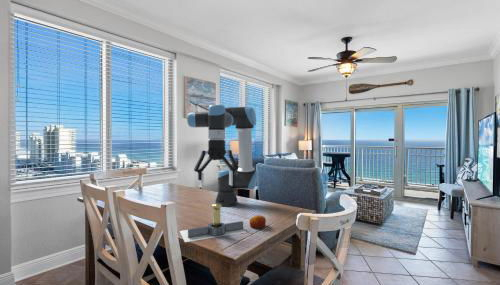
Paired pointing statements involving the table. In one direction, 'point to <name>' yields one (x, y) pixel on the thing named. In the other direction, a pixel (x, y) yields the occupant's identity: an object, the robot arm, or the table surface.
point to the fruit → (257, 222)
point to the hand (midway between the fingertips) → (216, 186)
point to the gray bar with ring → (215, 229)
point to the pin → (216, 214)
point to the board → (186, 239)
